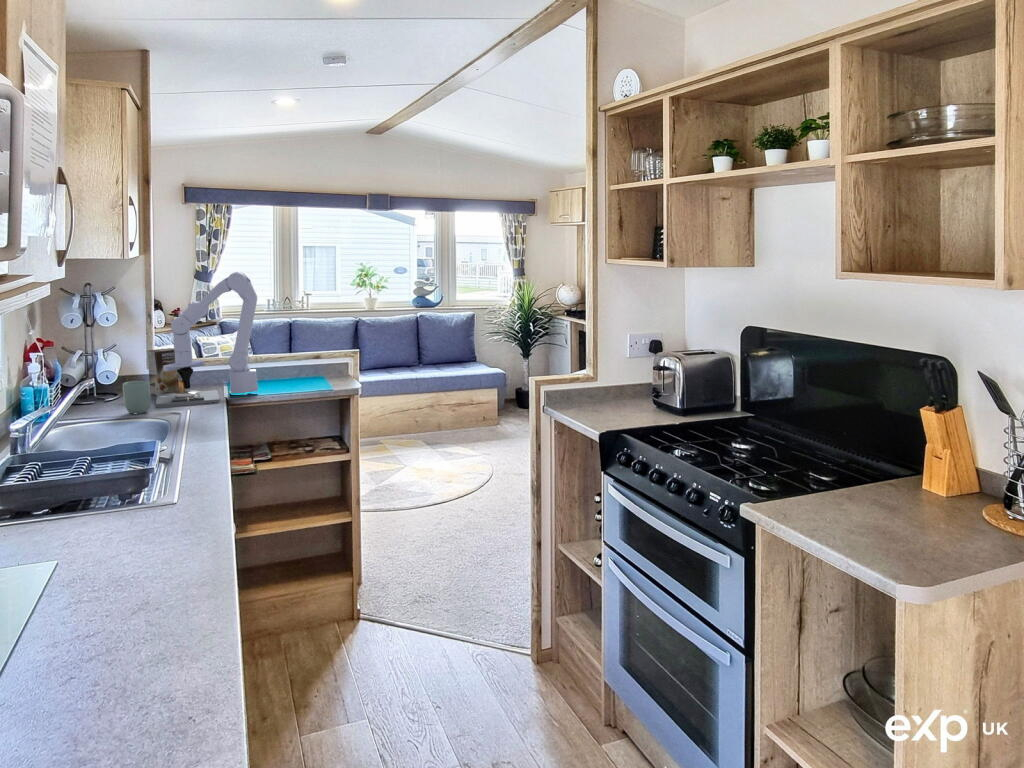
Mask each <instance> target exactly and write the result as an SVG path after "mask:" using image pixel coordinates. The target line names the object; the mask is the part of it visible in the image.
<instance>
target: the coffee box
mask: <svg viewBox="0 0 1024 768" xmlns="http://www.w3.org/2000/svg"><path fill="white" fill-rule="evenodd" d="M146 352H147V365H148V368H147V369H148V379H149V380H148V381H149V383H150V392H151V395H156V396H157V394H171V393H177V392H179V385H178V381H179V380H182V378H181V376H180V375H179V373H178V372H177V370H171V371H167V372H166V371H164V370H163V366H164V365H170V364H174V363H175V354H174V347H173V348H171V347H168V348H158V349H157V348H156V349H148V350H146Z"/></svg>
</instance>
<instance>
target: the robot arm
mask: <svg viewBox="0 0 1024 768" xmlns="http://www.w3.org/2000/svg"><path fill="white" fill-rule="evenodd" d="M252 283H253V282H252V281H251V279H250V278H249V277H248V276H247V275H246V274H245V273H244V272H241V271H236V272H233V273H230V274H229V276H227V277H226V278H224V279H223V280H221V281H220V282H218V283H217V284H216V285H214V287H213V288H212V289H210V291H209V292H208V293H206V295H204V297H202V298H201V300H200V301H193V302H190V303H188V304H187V306H188V307H186V308H185V310H184V311H182V312H179V313H178V314H177V316H178V317H175V318H174V319H173V320H172V322H171V324H170V328H171V331H172V336H173V339H172V340H173V341H172V342H173V348H174V354H175V363H174V364H170V365H164V366H163V370H164V371H166V372H167V371H171V370H177V372H178V373H179V375H180V376H181V380H184V383H185V390H188V389H191V377H192V375H193V372H194V368H196V367H205V365H206V364H205V360H201V359H200V360H193V350H192V339H191V333H190V330H191V327H192V326H195V325H196V324H197V323H198V322H199V321H200V320H202V318H203V317H204V316H205V315H207V313H208V310H207V308H208V307H209V306H211V304H212V303H214V302H215V301H216V300H217V299H218V298H219V297H221V295H223V294H225V293H229V292H232V291H233V292H235V293H237V295H238V296H239V297H240V298H241V299H242V306H241V312H240V317H239V322H238V326H237V327H238V328H237V333H236V339H235V344H234V347H233V351H232V354H231V356H229V358H228V366H229V367H230V368H228V370H229V375H228V376H229V385H230V391H228V393H229V392H230V393H235V394H236V393H245V392H253V391H258V389H259V384H258V374H257V370H256V369H255V368H253V369H252V368H251V367H250V366H249V365H248V363H249V361H250V356H249V345H250V340H251V334H252V329H253V324H254V323H253V322H254V318H255V314H256V313H255V312H256V310H257V309H256V307H257V302H258V295H257V292H256V290H255V288H254V285H253V284H252ZM258 392H259V391H258ZM230 393H229V394H230Z"/></svg>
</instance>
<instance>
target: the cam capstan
mask: <svg viewBox="0 0 1024 768" xmlns="http://www.w3.org/2000/svg"><path fill="white" fill-rule="evenodd" d="M178 385H179V392H177V393H175V397H176V398H192V397H194V395H198V396H200V390H187V389H185V383H184V380H182V379H181V380H179V381H178Z"/></svg>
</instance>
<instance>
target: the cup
mask: <svg viewBox="0 0 1024 768" xmlns="http://www.w3.org/2000/svg"><path fill="white" fill-rule="evenodd" d="M121 388H122V396H123V397H122V398H123V402H124V407H125V409H126V411H127V412H128V413H130V414H131V413H143V412H146V413H147V412H148V411H149V410H150V409H151V404H152V394H151V392H150V381H149V380H132V381H126V382H125V381H124V382H123V383H122V387H121ZM143 414H144V413H143Z"/></svg>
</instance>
